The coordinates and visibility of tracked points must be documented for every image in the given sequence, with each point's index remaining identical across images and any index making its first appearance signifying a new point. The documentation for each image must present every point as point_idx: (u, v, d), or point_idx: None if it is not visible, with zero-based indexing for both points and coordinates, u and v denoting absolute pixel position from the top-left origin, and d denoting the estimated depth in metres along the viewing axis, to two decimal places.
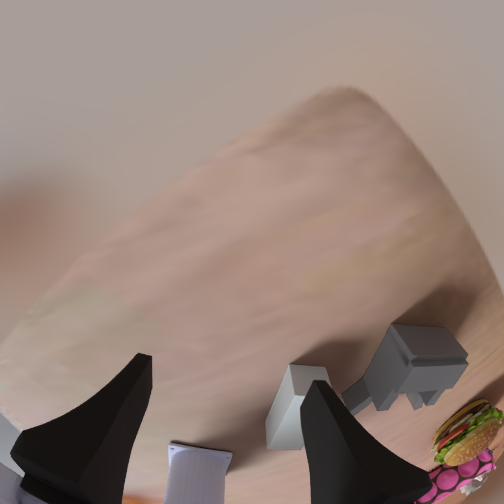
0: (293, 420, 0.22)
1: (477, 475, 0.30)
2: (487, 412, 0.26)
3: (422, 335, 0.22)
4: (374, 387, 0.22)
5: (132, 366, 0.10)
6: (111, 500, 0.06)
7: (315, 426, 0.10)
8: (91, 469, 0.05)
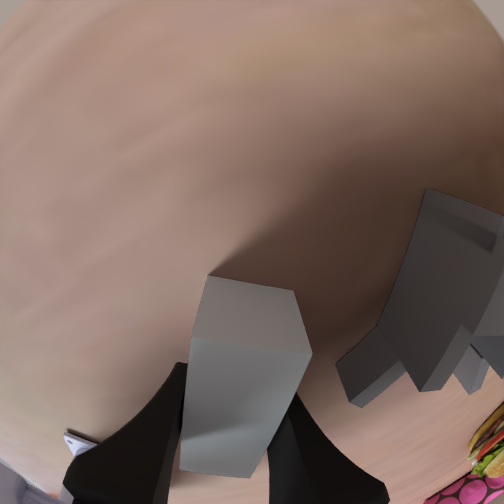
0: (210, 414, 0.09)
1: None
2: None
3: None
4: (407, 337, 0.10)
5: (176, 376, 0.10)
6: None
7: None
8: (157, 489, 0.05)
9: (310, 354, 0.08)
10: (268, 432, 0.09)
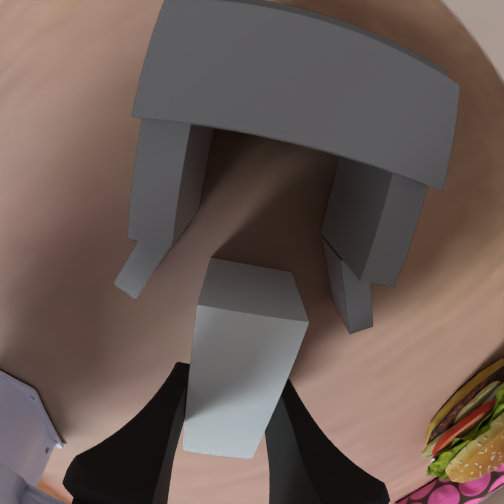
0: (213, 386, 0.10)
1: (489, 492, 0.16)
2: None
3: None
4: None
5: (175, 376, 0.10)
6: None
7: (274, 425, 0.10)
8: (157, 489, 0.05)
9: (307, 322, 0.09)
10: (269, 405, 0.10)
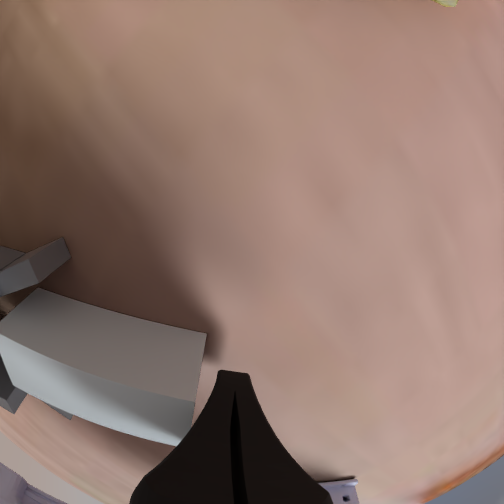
0: (63, 400, 0.09)
1: None
2: None
3: None
4: None
5: (222, 385, 0.10)
6: None
7: (230, 421, 0.10)
8: None
9: None
10: (69, 370, 0.08)
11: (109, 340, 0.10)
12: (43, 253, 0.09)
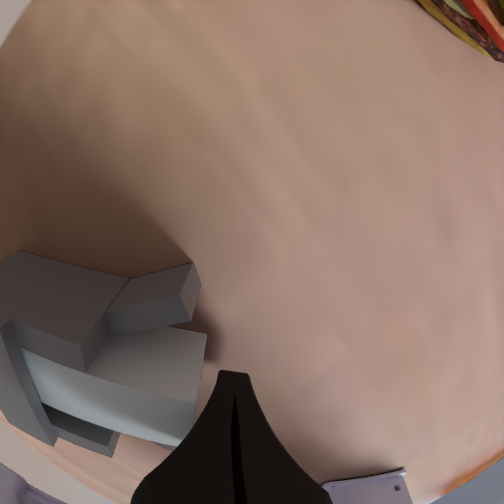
0: (66, 402, 0.09)
1: None
2: None
3: None
4: None
5: (223, 385, 0.10)
6: None
7: None
8: None
9: None
10: (70, 372, 0.08)
11: (110, 342, 0.10)
12: (187, 285, 0.10)
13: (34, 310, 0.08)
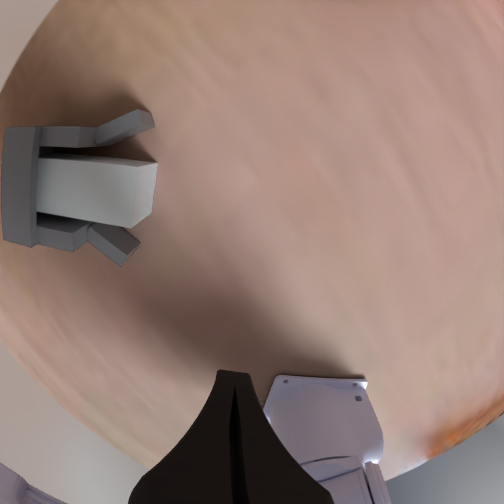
0: (56, 200, 0.15)
1: None
2: None
3: None
4: None
5: (221, 384, 0.10)
6: None
7: (231, 421, 0.10)
8: None
9: None
10: (68, 164, 0.14)
11: (96, 158, 0.16)
12: (143, 112, 0.15)
13: None
